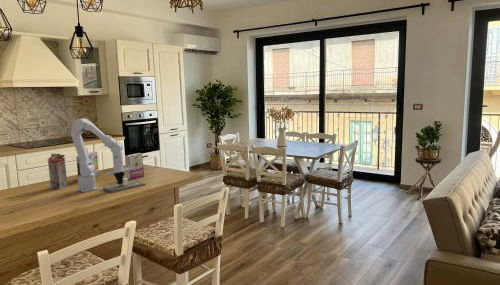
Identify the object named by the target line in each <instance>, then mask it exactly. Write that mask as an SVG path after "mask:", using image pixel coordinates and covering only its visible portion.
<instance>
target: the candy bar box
mask: <svg viewBox="0 0 500 285" xmlns="http://www.w3.org/2000/svg"><path fill="white" fill-rule="evenodd" d="M124 160H125V162H124V163H125V168H130V170H131V171H127V172H126V178H127V179H128V180H135V179H138V178H142V177H144V176H145V173H144V170H145V169H144V159H143V153H141V152H138V153H133V154H128V155H124Z"/></svg>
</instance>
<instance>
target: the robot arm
mask: <svg viewBox="0 0 500 285" xmlns="http://www.w3.org/2000/svg"><path fill="white" fill-rule="evenodd" d="M71 125H72V126H71V130H70V131H71V132H70V136H71V139H72V142H73V145H74V148H75V150H76V154H77V156H78V157H79V160H80V165H79V166H80V174H81V175H82V176H81V177H79V178H78V177H77V187H78V188H77V190H78V191H79V192H81V193H86V192H91V191H94V190H95V191H96V190H99V188H98V187H97V186H96V177H95V174H94V171H95V166H94V165H93V164H92V161H91V160H90V159H89V157H88V154H87V153H88V151H87V148H86V146H85V142H84V139H83V137H82V136H83V135H82V134H83V132H85V131H90V132H91V133H92V134H94V135H96V137H98V138H99V139H101V143H102V144H103V145H104V146H106V147H107V148H108V149H109V150H110V152H111V153H112V165H113V170H109V171H106V175H107V176H110V175H113V177H114V178H115V179H116V182H117V184H119V185H121V184H122V179H123V178H125V177H124V176H125V172H127V171H131V170H130V168H126V167H125V168H124V157H123V149H124V146H123V144H122V143H120V142H118V141H117V140H116V139H114V138H113V136H112V135H109V134H105V133H103V131H101V130H100V129H99V128H98V127H97V126H96V125H95V124H94V123H93V122H92V121H90V120H89V119H88V118H87V117H82V118H78V119H75V120H74V121H73V122H72V123H71Z"/></svg>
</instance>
